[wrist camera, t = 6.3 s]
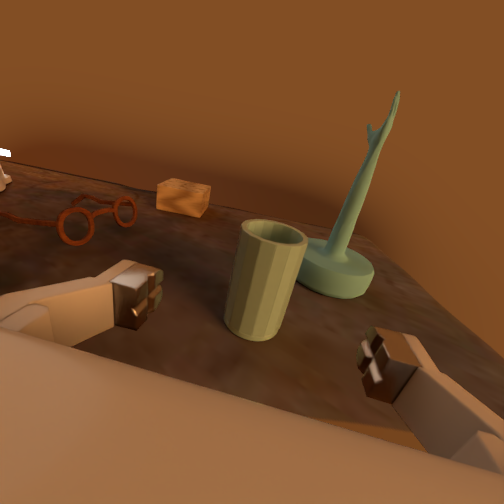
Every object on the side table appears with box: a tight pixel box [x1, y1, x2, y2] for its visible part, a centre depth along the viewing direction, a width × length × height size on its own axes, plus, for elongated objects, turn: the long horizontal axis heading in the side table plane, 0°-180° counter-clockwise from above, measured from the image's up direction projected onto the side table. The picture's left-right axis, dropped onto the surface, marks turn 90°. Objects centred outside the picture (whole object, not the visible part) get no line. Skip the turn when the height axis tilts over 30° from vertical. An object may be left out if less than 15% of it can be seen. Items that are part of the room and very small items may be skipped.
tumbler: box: [224, 219, 308, 341], centre depth 23 cm, size 6×6×10 cm
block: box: [156, 178, 211, 218], centre depth 52 cm, size 9×9×5 cm
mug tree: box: [296, 91, 400, 299], centre depth 32 cm, size 12×12×25 cm
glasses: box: [0, 194, 137, 246], centre depth 34 cm, size 13×13×5 cm
